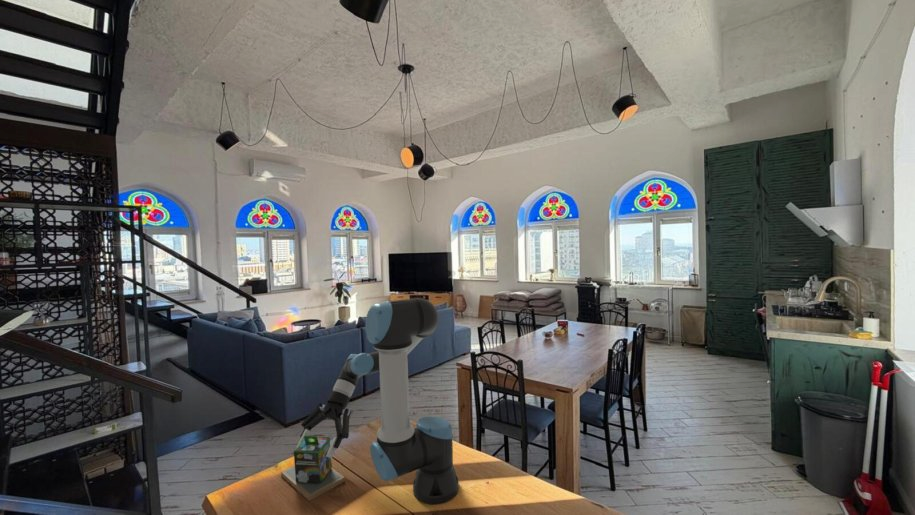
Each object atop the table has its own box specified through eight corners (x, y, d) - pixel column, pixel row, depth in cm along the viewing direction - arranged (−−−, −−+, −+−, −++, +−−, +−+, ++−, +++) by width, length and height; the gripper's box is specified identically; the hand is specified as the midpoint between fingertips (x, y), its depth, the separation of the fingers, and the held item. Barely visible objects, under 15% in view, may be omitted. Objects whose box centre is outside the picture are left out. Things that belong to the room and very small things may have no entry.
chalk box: (332, 467, 139) (330, 428, 138) (320, 484, 130) (318, 442, 129) (307, 466, 140) (306, 427, 139) (294, 482, 131) (292, 440, 130)
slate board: (344, 481, 134) (344, 476, 134) (309, 501, 124) (308, 496, 124) (315, 459, 147) (315, 455, 147) (281, 475, 137) (281, 471, 137)
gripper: (372, 403, 145) (347, 464, 133) (321, 393, 155) (293, 448, 143) (363, 395, 140) (336, 458, 127) (310, 385, 150) (281, 442, 138)
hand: (313, 453), depth 135 cm, fingers open, 13 cm apart
